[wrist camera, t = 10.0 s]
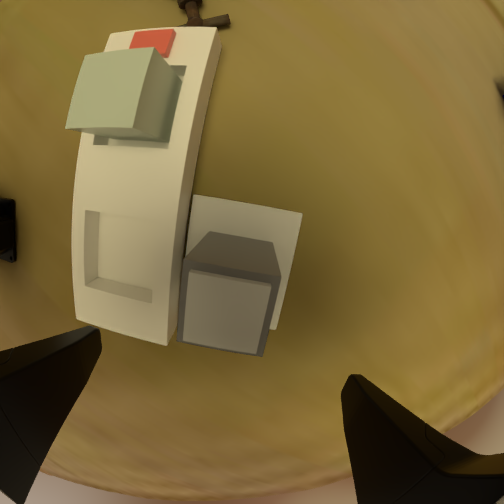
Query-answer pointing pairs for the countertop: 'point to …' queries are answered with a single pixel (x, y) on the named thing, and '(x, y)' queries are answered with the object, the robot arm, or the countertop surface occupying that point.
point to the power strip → (141, 199)
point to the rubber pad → (248, 231)
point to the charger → (228, 293)
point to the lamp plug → (125, 96)
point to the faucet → (190, 3)
